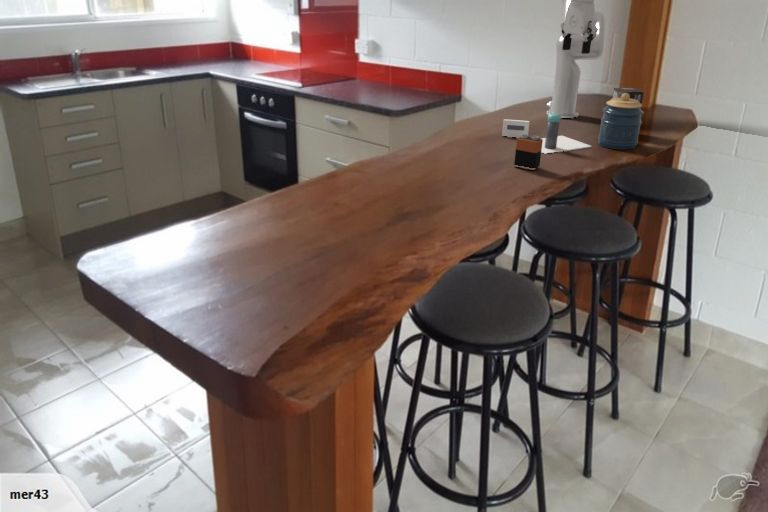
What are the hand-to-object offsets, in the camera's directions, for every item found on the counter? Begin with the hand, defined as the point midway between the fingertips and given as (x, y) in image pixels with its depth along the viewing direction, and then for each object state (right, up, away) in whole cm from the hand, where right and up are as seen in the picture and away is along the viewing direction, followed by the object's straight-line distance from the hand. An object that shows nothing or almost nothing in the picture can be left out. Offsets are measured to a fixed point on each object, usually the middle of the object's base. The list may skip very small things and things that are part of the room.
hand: (575, 51), depth 214 cm
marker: (-11, -35, -8) cm, 38 cm away
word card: (-20, -29, +5) cm, 36 cm away
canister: (+13, -34, -4) cm, 36 cm away
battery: (-23, -45, -27) cm, 57 cm away
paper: (-9, -34, -4) cm, 35 cm away
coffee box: (+20, -27, +9) cm, 35 cm away
